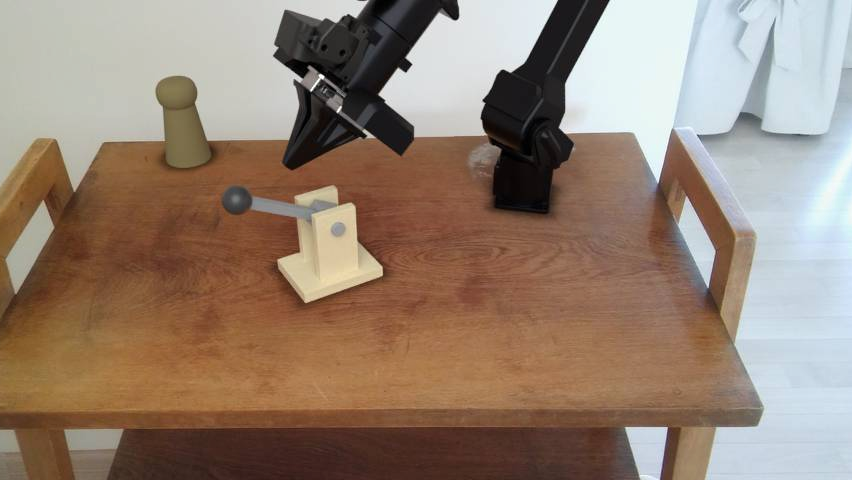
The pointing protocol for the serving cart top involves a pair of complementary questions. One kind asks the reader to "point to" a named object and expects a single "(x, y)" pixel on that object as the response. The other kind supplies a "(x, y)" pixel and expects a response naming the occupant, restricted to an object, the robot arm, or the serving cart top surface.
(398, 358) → the serving cart top surface
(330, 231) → the switch bracket
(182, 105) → the olive pawn
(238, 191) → the switch lever
